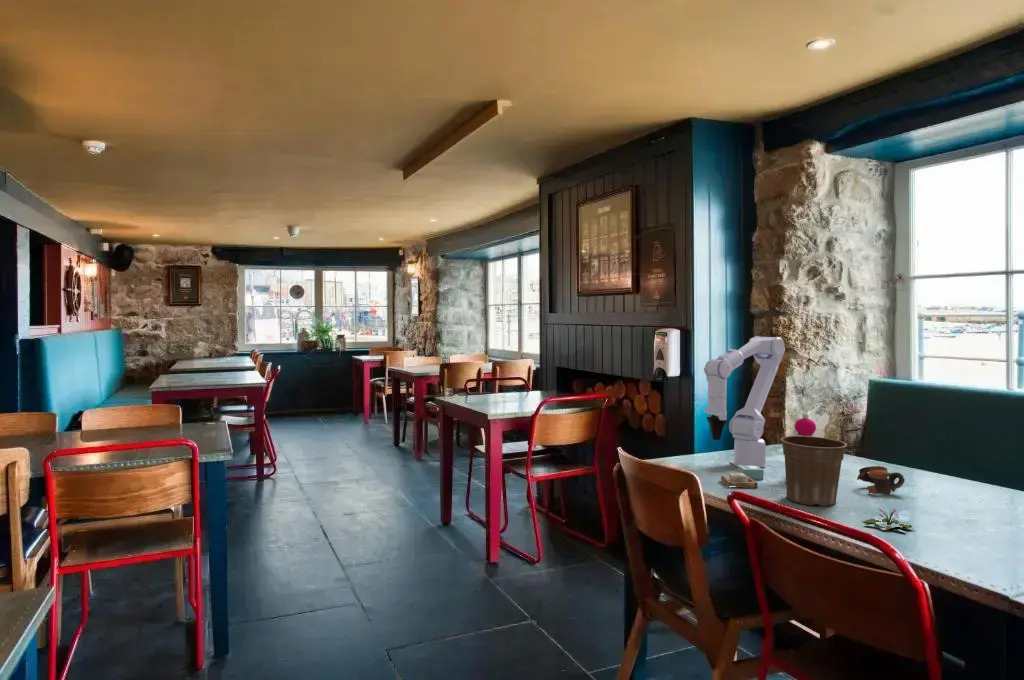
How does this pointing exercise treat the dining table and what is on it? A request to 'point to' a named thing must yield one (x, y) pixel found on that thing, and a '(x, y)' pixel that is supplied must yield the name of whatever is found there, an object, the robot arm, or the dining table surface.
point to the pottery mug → (880, 479)
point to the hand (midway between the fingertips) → (716, 439)
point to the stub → (738, 477)
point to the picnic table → (741, 483)
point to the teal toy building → (751, 471)
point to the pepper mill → (805, 426)
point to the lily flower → (887, 520)
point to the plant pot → (812, 469)
